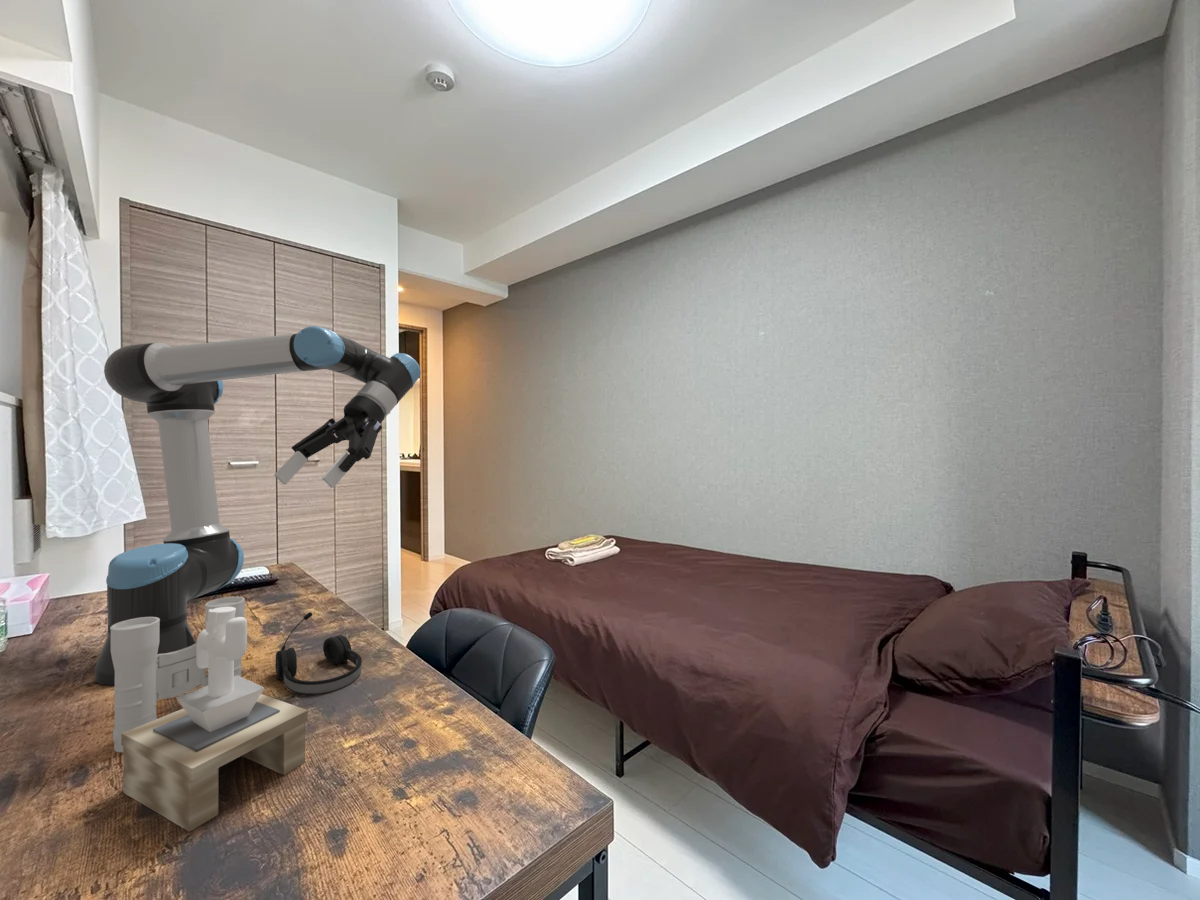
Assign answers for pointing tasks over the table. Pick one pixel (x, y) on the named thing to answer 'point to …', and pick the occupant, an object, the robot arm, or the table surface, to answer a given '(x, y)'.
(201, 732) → the bridge shelf
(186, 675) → the binoculars
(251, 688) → the figurine
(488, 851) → the table surface
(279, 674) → the headset
